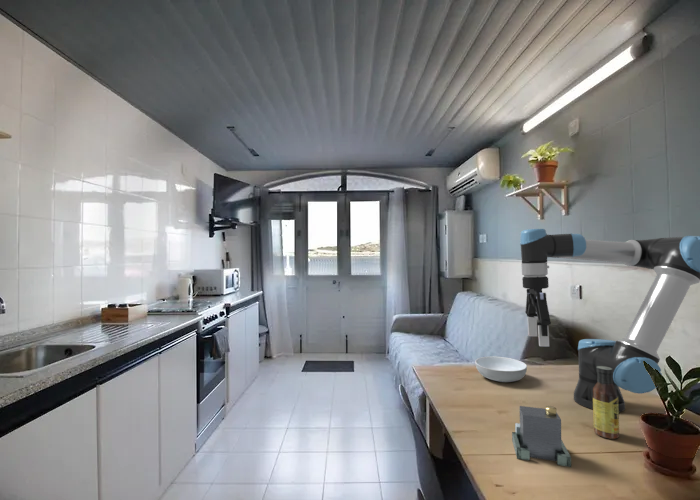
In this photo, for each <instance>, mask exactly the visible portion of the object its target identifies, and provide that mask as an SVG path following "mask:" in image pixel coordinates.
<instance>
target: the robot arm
mask: <svg viewBox="0 0 700 500" xmlns="http://www.w3.org/2000/svg"><path fill="white" fill-rule="evenodd" d="M519 242H520V244H519V245H520V251H521V252H520V256H521V275H522V276H523V277H522V279H521V280H522V281H521V282H522V288H524V289H526V290H525V291H526V301H525V302H526V303H525V311H524V312H525V314H526V317H527V334H528V337H538V346H539V347H546V348H547V347H550V333H549V332H550V330H549V326H550V325H551V323H552V321H551V317H550V312H549V307H548V302H547V293H546V292H543V289H548V288H549V286H550V284H549V277H548V276H547V275H548V274H549V273H548V269H550V265H549V264H548V258H554V259H569V260H570V259H571V260H583V261H597V262H607V263H608V262H609V263H610V262H611V263H621V264H624V265H625V266H628V267H635V268H636V267H637V268H643V269H648V270H653V271H654V272H655V274H656V276H655V278H654V280H653V282H652V284H651V286H650V287H649V289H648V292H647V293H646V295H645V298H644V299H643V301H642V304H641V305H640V307H639V309H638V311H637V313H636V315H635V317H634V318H633V321H632V323H631V325H630V327H629V328H628V330H627V332H626V334H625V336H624V338H620V339H617V340H611V339H600V338H584V339H580V340H579V341H578V346H577V351H578V381H577V384H576V385H575V389H574V391H573V401H574V402H575V403H577V404H578V405H580V406H583V407H584V408H588V409H591V410H593V387H594V386H595V385H596V383H597V382H598V381H597V372H596V367H597V366H606V367H610V368H612V369H613V374H612V381H613V385H614V388H615V390H616V392H617V395H618V407H619V413H621V412H623V411H625V410H626V402H625V400H624V397H623V394H622V392H621V389H622V390H624V391H627V392H630V393H634V394H641V395H642V394H645V393H650V392H652V391H654V390H655V389H656V388H657V387H655V385H654V383H653V381H652V379H651V377H650V375H649V374H648V372H647V371H646V369H645V367H644V364H643V361H645V362H646V363H647V364H649V365H650V366H651V367H652V368H654V369H656V370H658V371H659V373H660V374H661V375H662V376H663V373H661V372H662V369H661V367H660V366H659V362H660V360H661V358H660V356H659V354H658V350H659V348H660V346H661V344H662V342H663V341H664V338H665V336H666V334H667V333H668V330H669V328H670V326H671V324H672V323H673V321H674V319H675V316H676V315H677V312H678V311H679V309H680V307H681V305H682V303H683V300H684V299H685V297H686V295H687V293H688V292H689V289H690V288H691V286H693V285H697V284H699V283H700V235H685V236H676V237H675V236H674V237H670V236H669V237H658V238H650V239H629V240H627V241H613V240H612V241H611V240H602V239H601V240H599V239H589V238H588V239H586V238H585V237H584V235H582V234H581V233H561V234H559V233H558V234H547V231H546V229H545V228H529V229H528V228H527V229H523V230H522V231H520V241H519ZM620 388H621V389H620Z"/></svg>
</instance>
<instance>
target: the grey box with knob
mask: <svg viewBox="0 0 700 500" xmlns="http://www.w3.org/2000/svg"><path fill="white" fill-rule="evenodd" d="M544 407H545V408H543V407H533V406H532V407H531V406H525V405H523V406H522V405H519V424H520V443H519V444H520V448H526V449H529V451H530V458H532V459H539V460H546V461H551V462H552V461H553V462H557V453H560V454H562V447H561V440H562V419H561V417H560V415H559V413H558V412H557V408H556V407H554V405H553V406H552V405H545V406H544Z"/></svg>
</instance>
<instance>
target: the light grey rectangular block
mask: <svg viewBox="0 0 700 500" xmlns="http://www.w3.org/2000/svg"><path fill="white" fill-rule="evenodd" d="M514 430H515V431H514V432H516V433H520V422H515V428H514Z"/></svg>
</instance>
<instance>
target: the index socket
mask: <svg viewBox="0 0 700 500" xmlns="http://www.w3.org/2000/svg"><path fill="white" fill-rule="evenodd" d="M511 438H512V439H511V441H512V444H513V448H514V452H515V455H516V459H518V460H523V461H530V458H531V457H530V451H529V449H526V448H521V446H520V433H516V432H515V431H514V432H513V431H512V432H511ZM561 447H562V454H560V453H557V461H556V464H557V466H561V467H562V466H563V467H569V468H572V456H571V454H570V453H569V450H568V449H567V447H566V445H565V443H564V442H563V440H562V439H561Z"/></svg>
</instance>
